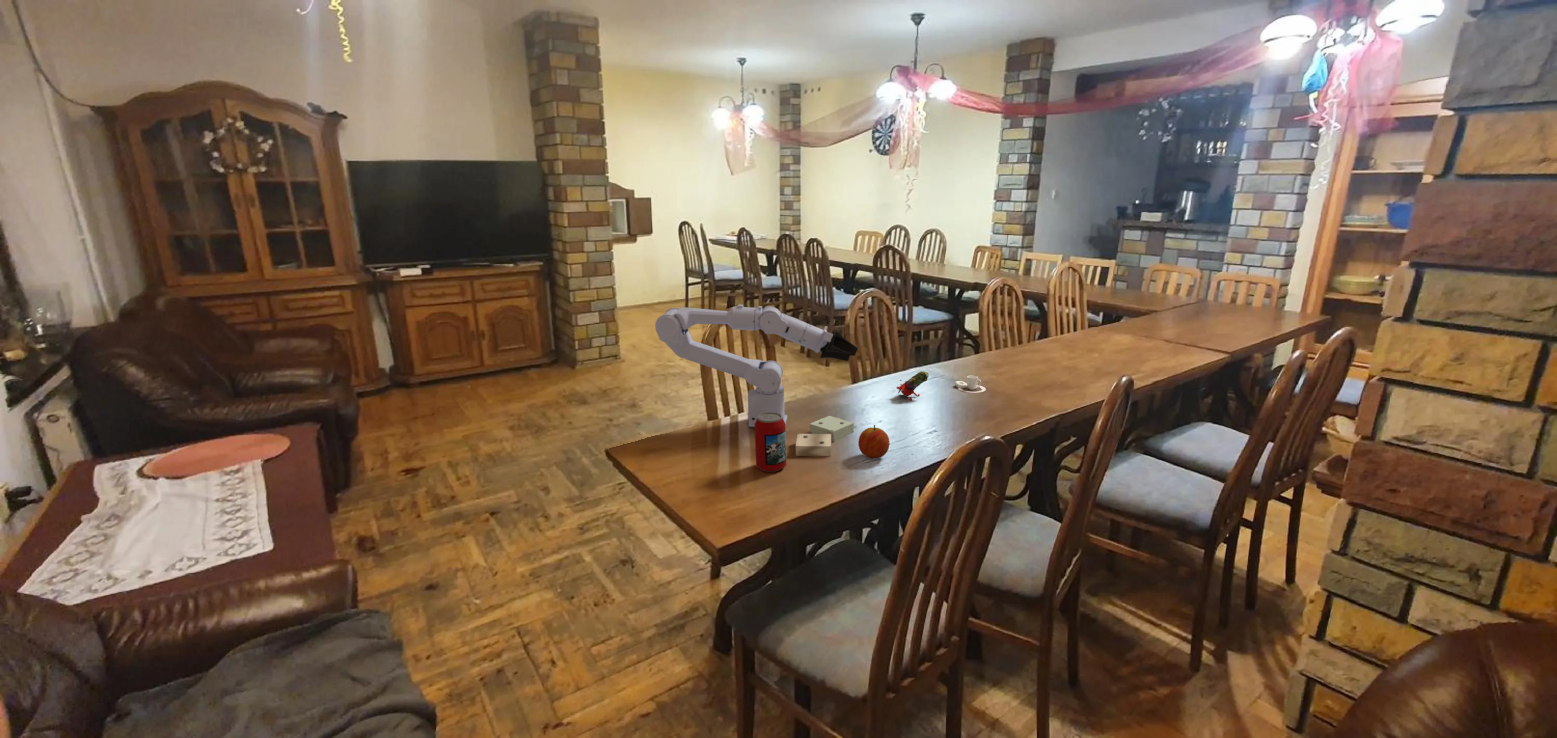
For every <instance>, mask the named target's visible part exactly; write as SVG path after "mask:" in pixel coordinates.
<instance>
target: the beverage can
mask: <svg viewBox="0 0 1557 738" xmlns="http://www.w3.org/2000/svg"><path fill="white" fill-rule="evenodd" d="M786 432H787V431H786V425H785V422H784V420H783V418H782V415H781V414H778V413H772V412H769V413H763V414H760V415H758V417H757V420H756V422H755V427H754V443H755V444H754V447H755V465H756V468H758V469H760V470H762V471H763V472H766V473H776V472H779V471H780V470H782V469H783V468H785V467H786V466H787V437H786V435H787V434H786Z"/></svg>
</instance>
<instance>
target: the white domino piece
mask: <svg viewBox="0 0 1557 738" xmlns="http://www.w3.org/2000/svg"><path fill="white" fill-rule="evenodd" d="M796 437H797V438H796V440H795V441H796V442H795V456H796V457H797V456H798V457H799V456H800V457H801V456H802V457H804V456H805V457H831V456H832V455H831V454H832V443H833V444H834V443H835V440H834V430H829V431H828V434H813V433H797V436H796Z"/></svg>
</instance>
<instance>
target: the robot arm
mask: <svg viewBox="0 0 1557 738" xmlns="http://www.w3.org/2000/svg"><path fill="white" fill-rule="evenodd" d="M698 324H699V325H728V326H729V328H731V330H739V331H741V330H743V331H756V332H757V331H759V330H761V331H763V333H764V334H766V335H772V334H774V335H777V336H779V337H781V338H783V339H785V340H788V341H790V342H793V343H795V344H797V345H799V346H802V347H804V348H806V349H809V350H810V351H811V350H812V351H814V353H817V354H818V353H820V356H819V358H820V359H836V360H841V361H849V360H850V357H856V354H857V351H858V347H857V346H855V344H853V343H852V342H850V341H849V340H847V339H846V338H844V336H843V335H842V334H841V333H840V331H838V330H836V329H835V330H834V332H833V333H831V332H828V327H829V326H826V325H825V326H824V327H823V329H821V328H819V327H817V326H814V325H812V324H809V323H807V322H806V321H803V320H801V319H798V318H796V317H793V316H790V315H788V314H785V313H781V311H780V310H779V308H776V307H775V306H770V305H767V306H765V307H764V308H763V306H762V305H758V307H748V306H744V304H740V303H739V304H737V306H733V307H732V308H730V309H729V310H717V309H710V308H709V309H708V308H698V307H684V306H683V307H680V308H679V307H671V308H669V309H667V310H666V311H665V312H664V314H662V315H660V316H659V317H658V318H657V319H656V321H655V326H654V327H655V331H656V333H657V336H658V339H659V340H660V341H661V342H663V343H665V344H666V346H667V347H668V348H669V349H671V351H672V352H673V353H674V354H675V355H676V356H677V357H679V358H681V359H685V360H687V361H690V362H693V363H696V364H699V365H702V366H705V367H709V368H711V369H713V370H717V371H719V372H720V371H721V372H723V373H726V374H730V375H731V376H732V375H733V376H736V377H737V378H742V379H744V380H745V381H746V382H747V383H748V384H749V385H751V386H754V387H756V388H755V389H749V390H748V395H747V411H748V412H747V413H748V414H747V416H748V427H749V428H755V422H756V420H757V417H758V415H760V414H763V413H769V412H772V413H778V414H781V415H782V418H783V420H784V422H785V426H786V424H787V421H788V415H787V414H786V413H785V387H784V386H783V385H782V384H781V382H782V377H783V373H784V371H783V367H782V365H781V364H780V363H779V362H778V361H775V360H767V361H766V360H761V359H749V358H746V357H743V356H741V355H737V354H734V353H732V352H729V351H726V350H722V349H719V348H717V347H714V346H710V345H709V344H705V343H702V342H698V341H695V340H694V339H693V337H692V335H691V333H690V331H689V329H690V328H691V327H694V326H695V325H698Z"/></svg>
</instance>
